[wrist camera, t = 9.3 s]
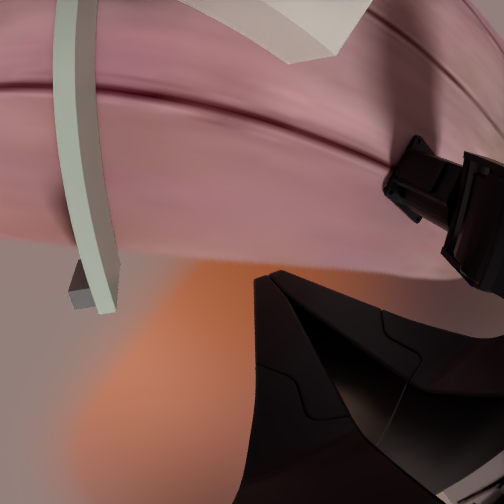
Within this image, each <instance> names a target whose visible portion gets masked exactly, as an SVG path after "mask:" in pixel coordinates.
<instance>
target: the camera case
mask: <svg viewBox="0 0 504 504" xmlns="http://www.w3.org/2000/svg"><path fill="white" fill-rule="evenodd" d="M178 1H180V2H182V3H184V4H186V5H188V6H190V7H192V8H194V9H196V10H198V11H200V12H202V13H204V14H206V15H208V16H210V17H212V18H214V19H216V20H217V21H219V22H221V23H223V24H225V25H226V26H228V27H230V28H232V29H233V30H235V31H237V32H238V33H240V34H242V35H243V36H245V37H247V38H248V39H250V40H252V41H253V42H255V43H256V44H258V45H259V46H261V47H263V48H264V49H266V50H267V51H269V52H270V53H272V54H273V55H275V56H276V57H277V58H279V59H280V60H282V61H283V62H285V63H286V64H287V65H289V64H293V63H298V62H303V61H308V60H314V59H319V58H325V57H332V56H336V55H337V53H338V52H339V50H340V49H341V47H342V46H343V44H344V43H345V41H346V40H347V38H348V37H349V35H350V34H351V32H352V31H353V29H354V27H355V26H356V24H357V23H358V21H359V20H360V18H361V17H362V16H363V14H364V13H365V11H366V10H367V8H368V7H369V5H370V4H371V2H372V1H373V0H178Z"/></svg>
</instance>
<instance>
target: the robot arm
mask: <svg viewBox="0 0 504 504" xmlns="http://www.w3.org/2000/svg"><path fill="white" fill-rule="evenodd" d="M417 140H418V141H417ZM463 158H464V162H463V165H460V164H457V163H455V162H452V161H449V160H446V159H444V158H441V157H438V156H435V154H434V153H433V152H432V150H431V149H430V148H429V146H428V145H427V144H426V142H425V141H424V140H423V138H422V137H421V136H418V135H415V136H414V137H413V139H412V140H411V142H410V144H409V146H408V148H407V150H406V152H405V153H404V155H403V157H402V159H401V161H400V163H399V164H398V166H397V168H396V170H395V172H394V173H393V175H392V177H391V179H390V180H389V182H388V184H387V185H386V187H385V189H384V195H385V196H386V197H387V198H388V199H390V200H391V201H392V202H393V203H394V204H395V205H396V206H397V207H398V208H399V209H400V210H402V211H403V212H404V213H405V214H406V215H407V216H408V217H409V218H410V219H411V220H412V221H413V222H415V223H419V222H420V221H421V219H422V217H423V218H425V219H427V220H428V221H430V222H432V223H434V224H436V225H437V226H439V227H441V228H442V229H444V230H446V231H448V233H447V236H446V240H445V243H444V247H442V250H441V254H442V255H443V256H444V257H445V258H446V260H447V261H448V262H449V263H450V264H451V265H452V266H453V267H454V268H455V269H456V270H457V271H458V273H459V274H460V275H461V276H462V277H463V278H464V279H465V280H466V281H467V282H468V284H469V285H470V286H472V287H475V288H476V289H479V290H482V291H485V292H490V293H494V294H497V295H498V296H500V297H502V298H503V299H504V164H503V163H500V162H498V161H495V160H492V159H490V158H487V157H484V156H480V155H477V154H473V153H470V152H466V151H464V156H463ZM389 191H390V192H389ZM254 318H255V319H254V321H255V361H256V367H255V370H256V390H255V392H256V393H255V404H254V415H253V421H252V428H251V434H250V440H249V446H248V452H247V458H246V464H245V469H244V473H243V477H242V481H241V484H240V487H239V490H238V492H237V494H236V497H235V499H234V501H233V503H232V504H446V503H445V502H444V501H442V500H441V499H439V498H438V497H437V496H436V495H437V494H439V493H440V492H442V491H443V492H444V493H445V495H446V496H447V497H448V499H449V500H450V501H451V503H452V504H504V335H502V336H499V337H494V338H474V337H470V336H465V335H462V334H458V333H455V332H451V331H447V330H443V329H440V328H436V327H432V326H429V325H426V324H422V323H419V322H416V321H413V320H409V319H407V318H404V317H401V316H398V315H395V314H393V313H390V312H388V311H385V310H382V311H381V309H380V308H377V307H375V306H372V305H370V304H367V303H365V302H362V301H359V300H357V299H354V298H352V297H349V296H347V295H344V294H342V293H339V292H337V291H334V290H331V289H329V288H326V287H324V286H321V285H319V284H316V283H314V282H311V281H308V280H306V279H304V278H301V277H299V276H296V275H294V274H291V273H288V272H286V271H283V270H279V271H276V272H273V273H270V274H269V275H268V276H267V275H265V276H262V277H259V278H256V279H254Z"/></svg>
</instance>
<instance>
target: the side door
mask: <svg viewBox="0 0 504 504" xmlns="http://www.w3.org/2000/svg"><path fill="white" fill-rule="evenodd" d="M97 6H98V0H57V6H56V16H55V27H54V44H53V95H54V112H55V125H56V135H57V144H58V152H59V159H60V166H61V172H62V179H63V184H64V190H65V195H66V200H67V205H68V210H69V214H70V219H71V223H72V227H73V231H74V235H75V239H76V243H77V247H78V250H79V254H80V257H81V259H80V260H78V263H77V266H76V269H75V272H74V275H73V278H72V281H71V284H70V287H69V290H68V293H69V296H70V298H71V301H72V303H73V306H74V308H75V309H81V308H88V307H94V306H96V307H97V310H98V312H99V315H100V314H106V313H113V312H117V296H118V295H117V294H118V283H119V272H120V260H119V256H118V251H117V247H116V242H115V238H114V233H113V228H112V223H111V218H110V212H109V207H108V201H107V195H106V189H105V182H104V175H103V168H102V160H101V152H100V142H99V132H98V120H97V105H96V80H95V44H96V20H97Z"/></svg>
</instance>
